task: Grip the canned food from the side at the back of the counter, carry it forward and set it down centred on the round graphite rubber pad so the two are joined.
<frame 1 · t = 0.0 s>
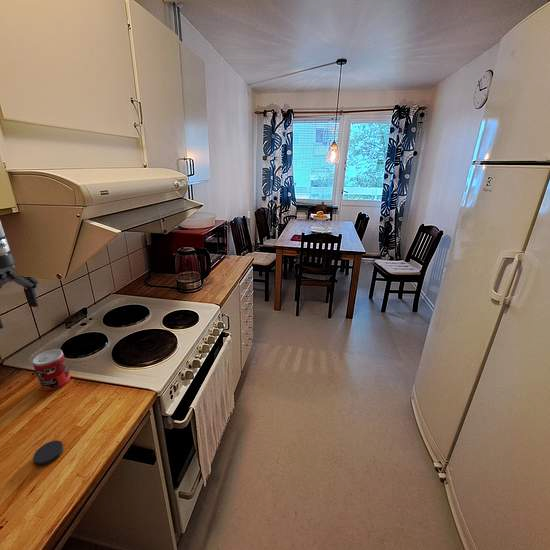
hand: (17, 316, 92), 23 cm above the worktop, tool pointing down, fingers open, 13 cm apart
pad: (49, 454, 73), on the worktop
canned food: (57, 383, 96), on the worktop
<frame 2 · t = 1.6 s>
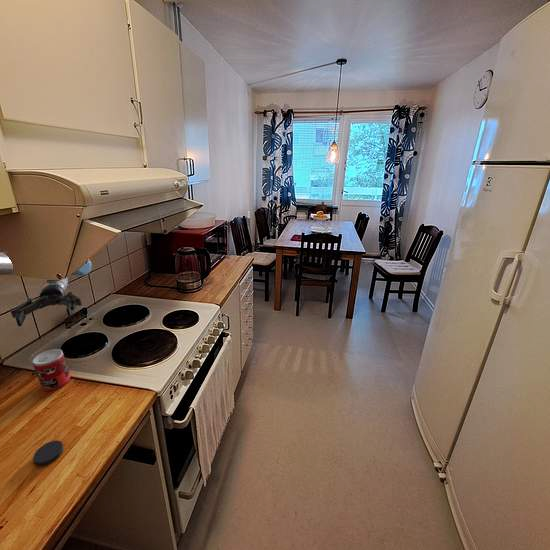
hand: (44, 317, 96), 20 cm above the worktop, tool horizontal, fingers open, 13 cm apart
nothing on the worktop moved.
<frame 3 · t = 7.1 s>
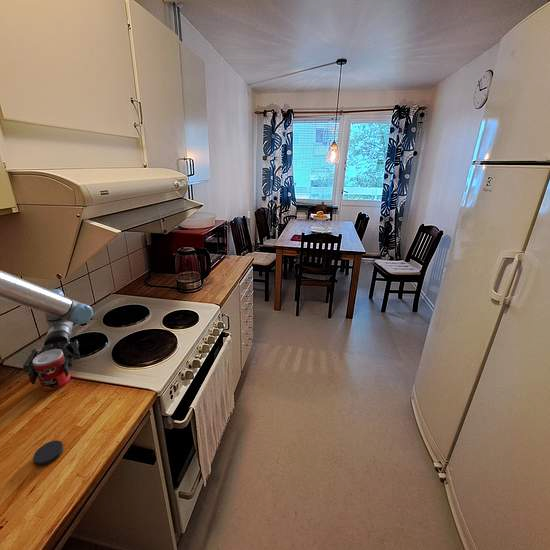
hand: (49, 376, 90), 7 cm above the worktop, tool horizontal, fingers closed on canned food, 8 cm apart
canned food: (57, 383, 96), on the worktop, touching gripper
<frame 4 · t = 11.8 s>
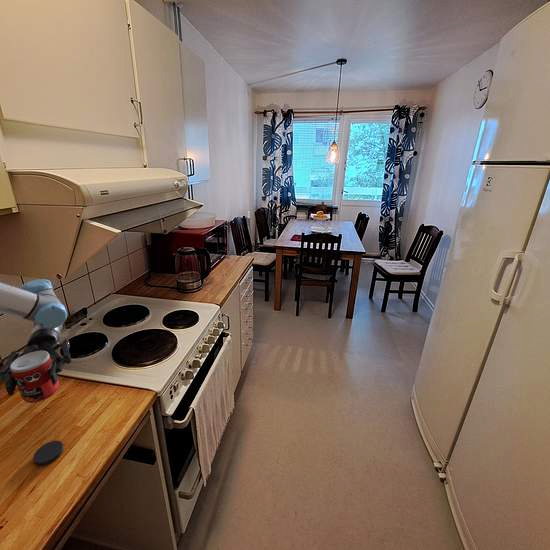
hand: (31, 385, 71), 18 cm above the worktop, tool horizontal, fingers closed on canned food, 8 cm apart
canned food: (42, 393, 78), point 11 cm above the worktop, touching gripper
when the fingers open (8 cm above the worktop, at t = 16.4 s): canned food stays where it is, resting on pad.
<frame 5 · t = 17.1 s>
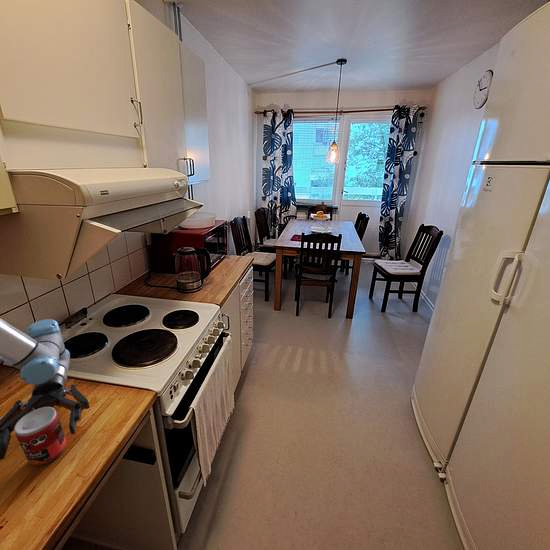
hand: (37, 442, 67), 8 cm above the worktop, tool horizontal, fingers open, 13 cm apart
canned food: (48, 451, 73), point 1 cm above the worktop, touching pad
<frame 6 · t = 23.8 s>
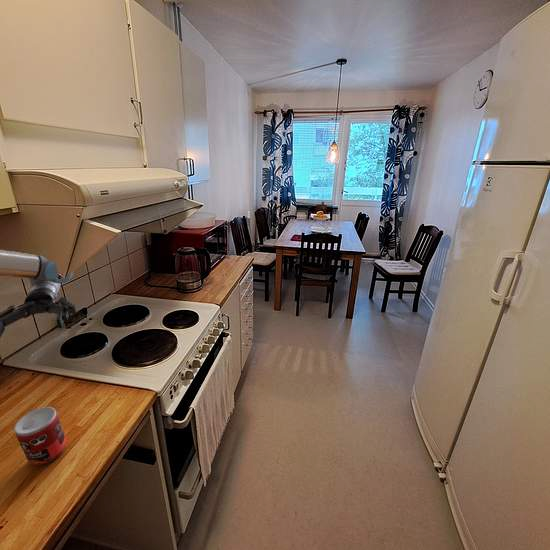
hand: (28, 330, 76), 28 cm above the worktop, tool horizontal, fingers open, 13 cm apart
nothing on the worktop moved.
at the end: canned food 0.0 cm off-centre on the pad, point 1.0 cm above the pad's base; canned food tilted 0°; the gripper is holding nothing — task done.
